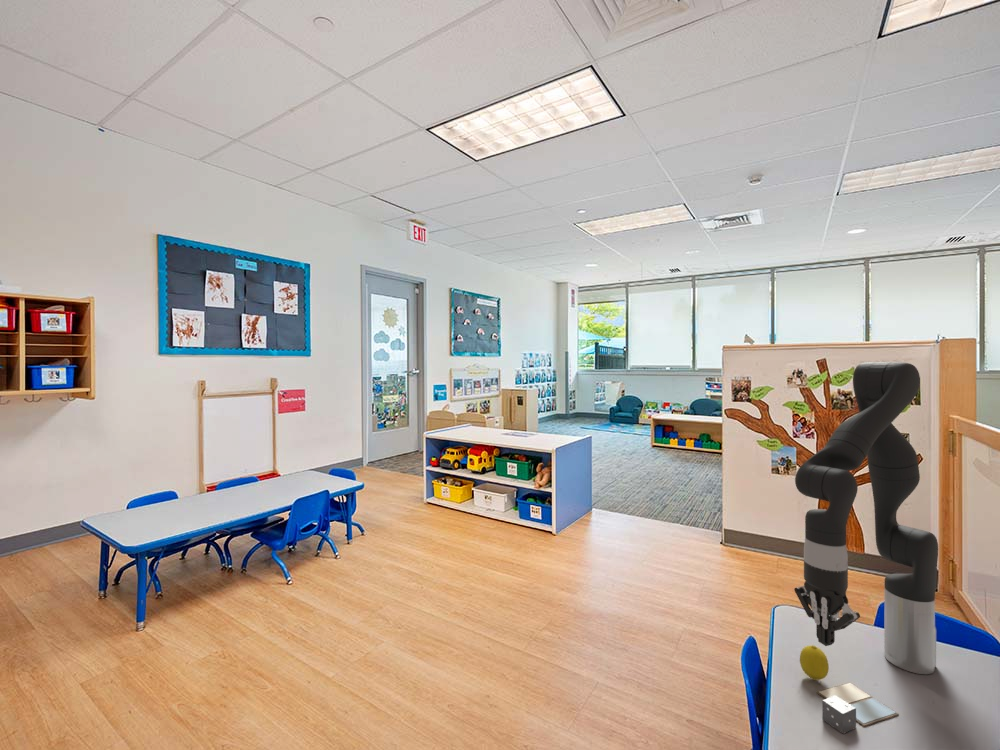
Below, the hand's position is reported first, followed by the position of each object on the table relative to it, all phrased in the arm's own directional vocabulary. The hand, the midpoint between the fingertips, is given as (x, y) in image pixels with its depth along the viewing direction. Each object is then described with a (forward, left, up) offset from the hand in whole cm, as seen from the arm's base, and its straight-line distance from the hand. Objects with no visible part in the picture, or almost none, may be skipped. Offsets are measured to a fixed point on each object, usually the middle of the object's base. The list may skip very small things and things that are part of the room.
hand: (825, 643), depth 96 cm
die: (0, +1, -13) cm, 13 cm away
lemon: (-7, -8, -15) cm, 19 cm away
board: (-9, 0, -15) cm, 17 cm away
